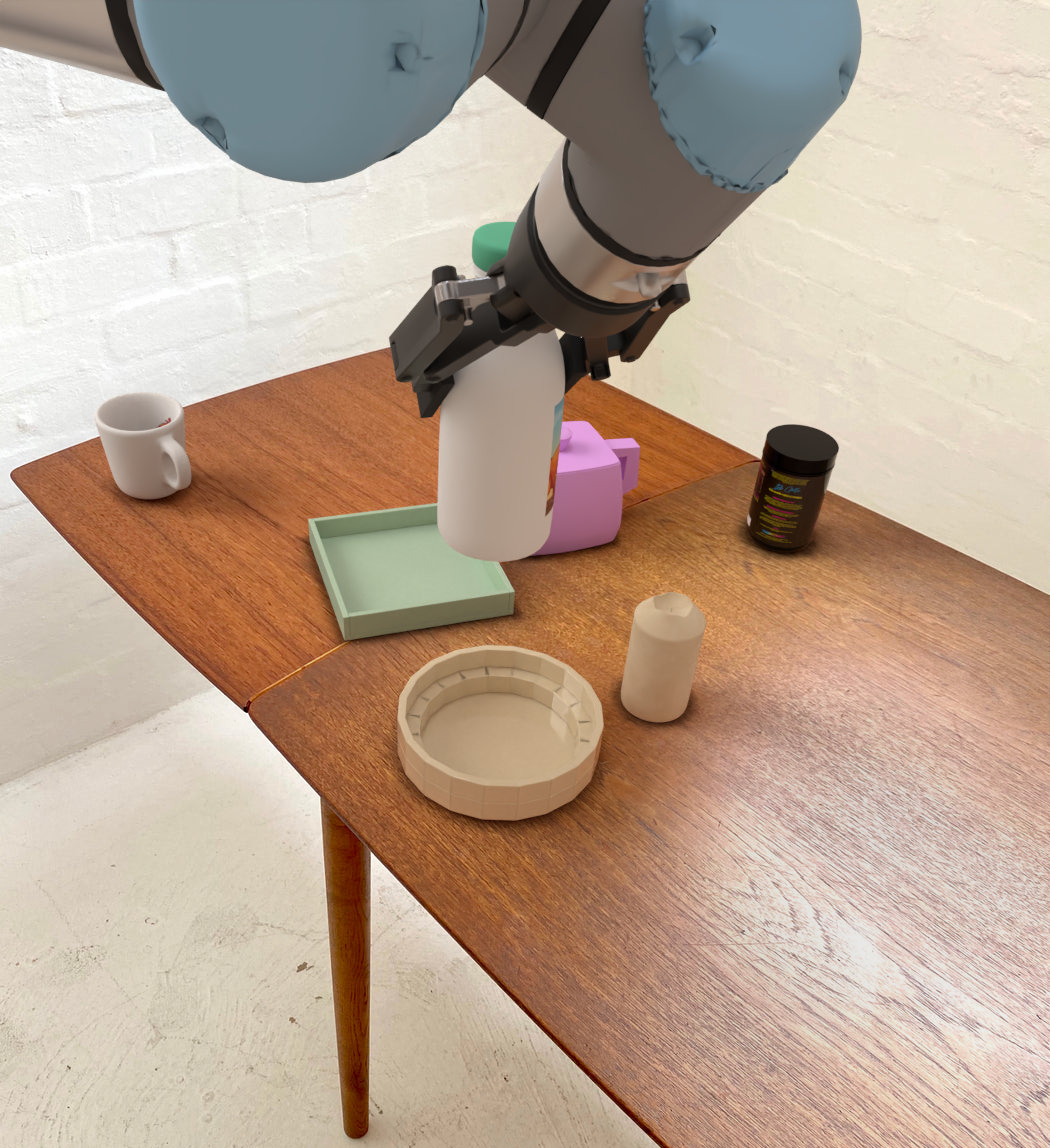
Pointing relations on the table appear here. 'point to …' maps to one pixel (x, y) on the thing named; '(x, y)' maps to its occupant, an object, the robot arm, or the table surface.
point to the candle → (662, 657)
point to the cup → (145, 443)
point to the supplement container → (790, 487)
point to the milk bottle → (501, 437)
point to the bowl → (499, 732)
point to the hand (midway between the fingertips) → (485, 391)
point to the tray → (402, 573)
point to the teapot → (589, 488)
